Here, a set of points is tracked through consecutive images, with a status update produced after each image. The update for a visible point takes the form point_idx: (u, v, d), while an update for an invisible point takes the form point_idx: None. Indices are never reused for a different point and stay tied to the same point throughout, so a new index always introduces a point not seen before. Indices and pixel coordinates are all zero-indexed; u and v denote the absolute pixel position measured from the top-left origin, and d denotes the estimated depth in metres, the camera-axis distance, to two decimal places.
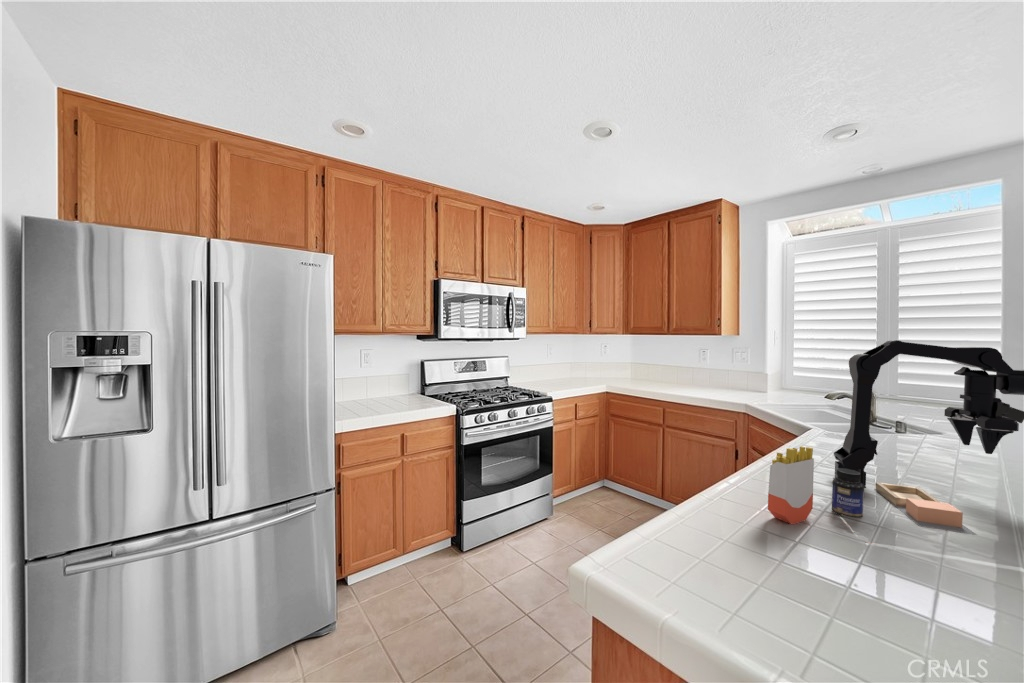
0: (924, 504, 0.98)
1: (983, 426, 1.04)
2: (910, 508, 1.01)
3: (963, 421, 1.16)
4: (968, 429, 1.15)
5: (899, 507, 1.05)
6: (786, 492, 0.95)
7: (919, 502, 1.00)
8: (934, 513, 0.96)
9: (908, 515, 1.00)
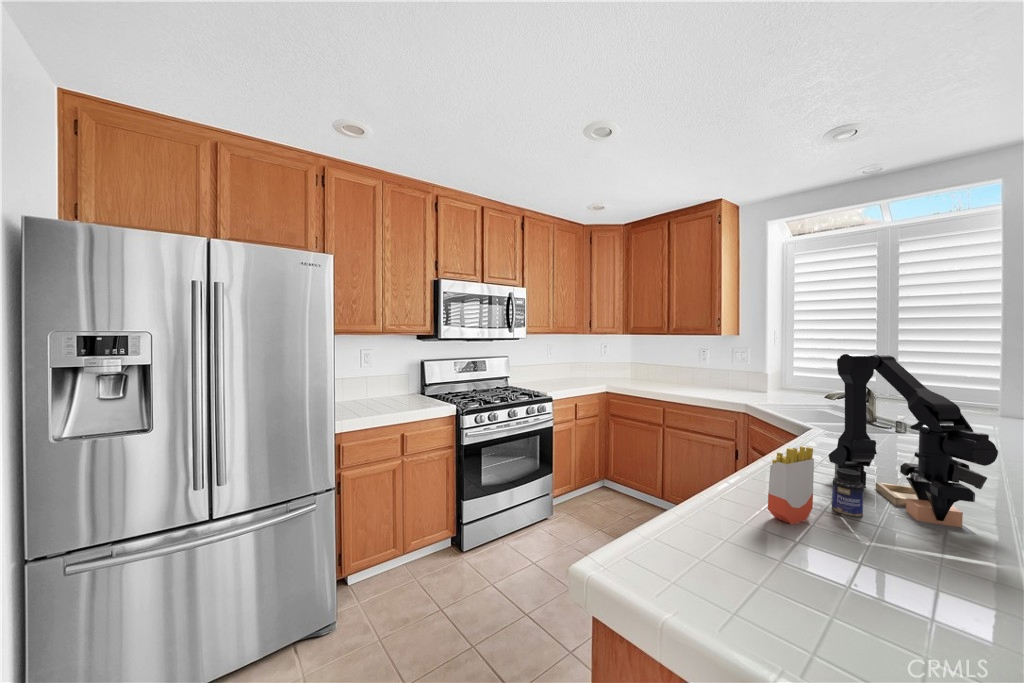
0: (924, 504, 0.98)
1: (936, 494, 0.92)
2: (910, 508, 1.01)
3: (923, 483, 1.02)
4: None
5: (899, 507, 1.05)
6: (786, 492, 0.95)
7: (919, 502, 1.00)
8: None
9: (908, 515, 1.00)
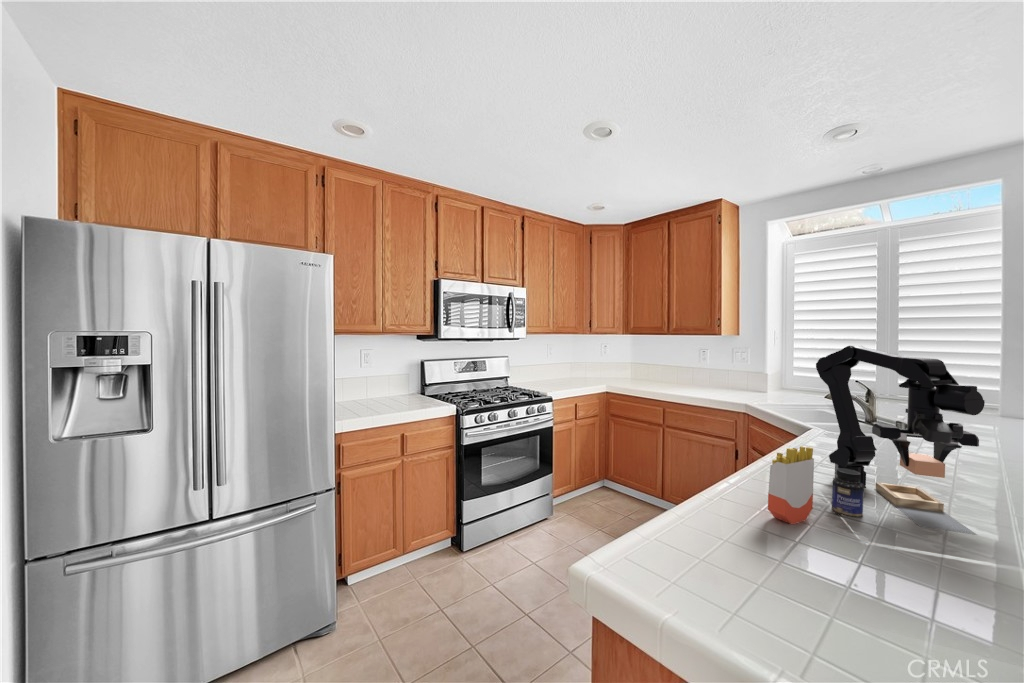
0: (913, 455, 1.06)
1: None
2: None
3: (938, 443, 1.03)
4: (939, 452, 1.02)
5: (899, 507, 1.05)
6: (786, 492, 0.95)
7: (919, 455, 1.06)
8: None
9: (908, 515, 1.00)
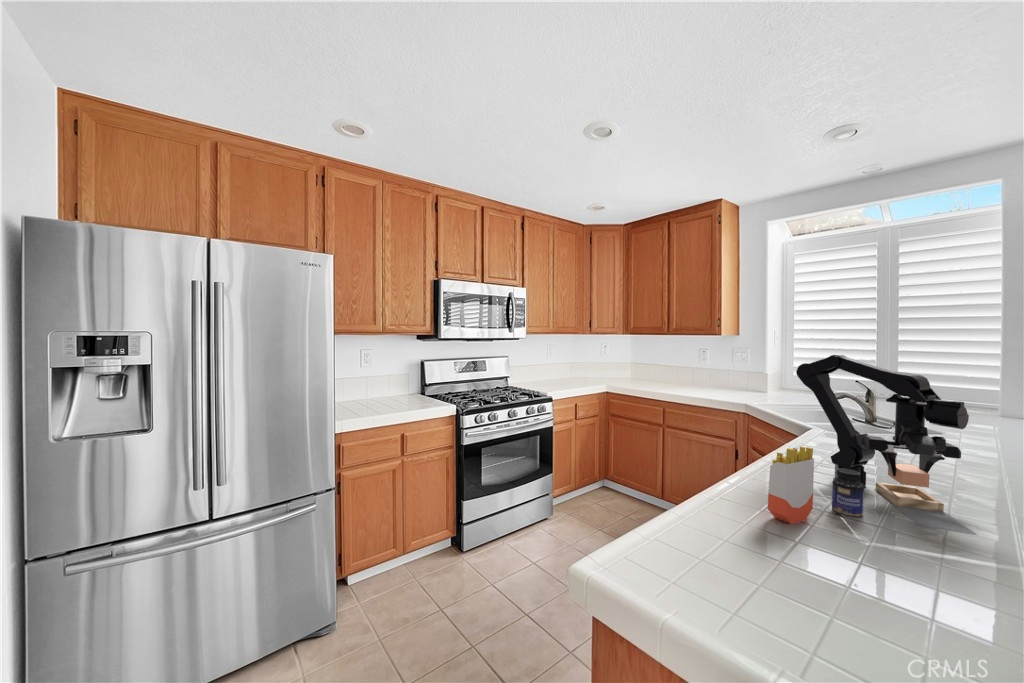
0: (900, 465, 1.12)
1: None
2: None
3: (923, 454, 1.09)
4: (924, 463, 1.08)
5: (899, 507, 1.05)
6: (786, 492, 0.95)
7: (906, 465, 1.12)
8: None
9: (908, 515, 1.00)
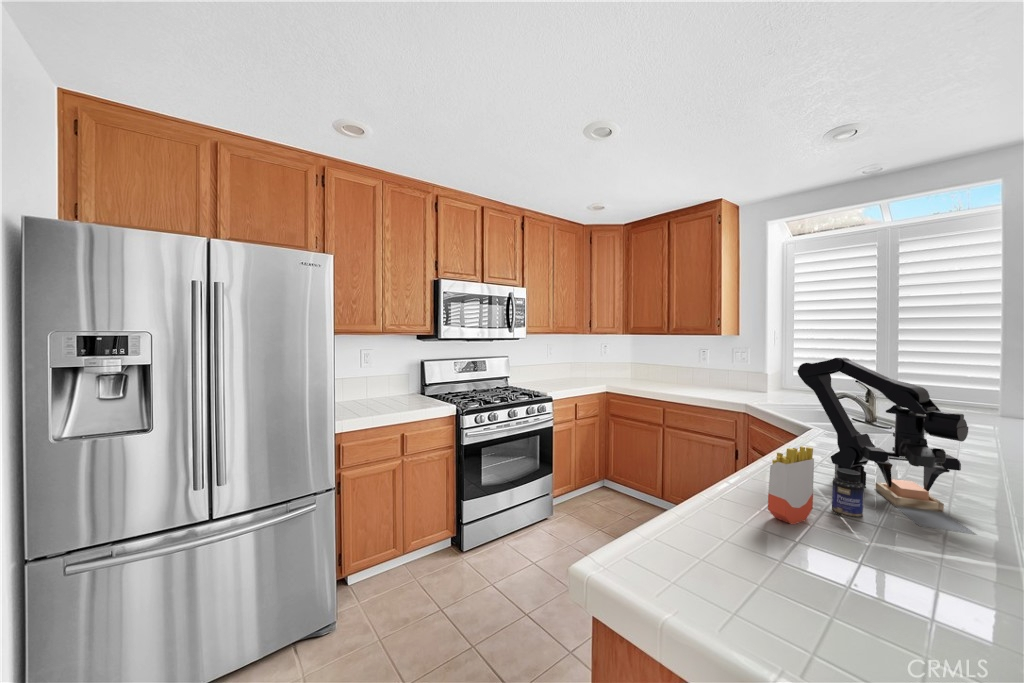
0: (900, 482, 1.12)
1: None
2: None
3: (928, 466, 1.09)
4: (928, 475, 1.08)
5: (899, 507, 1.05)
6: (786, 492, 0.95)
7: (905, 482, 1.12)
8: (892, 486, 1.12)
9: (908, 515, 1.00)
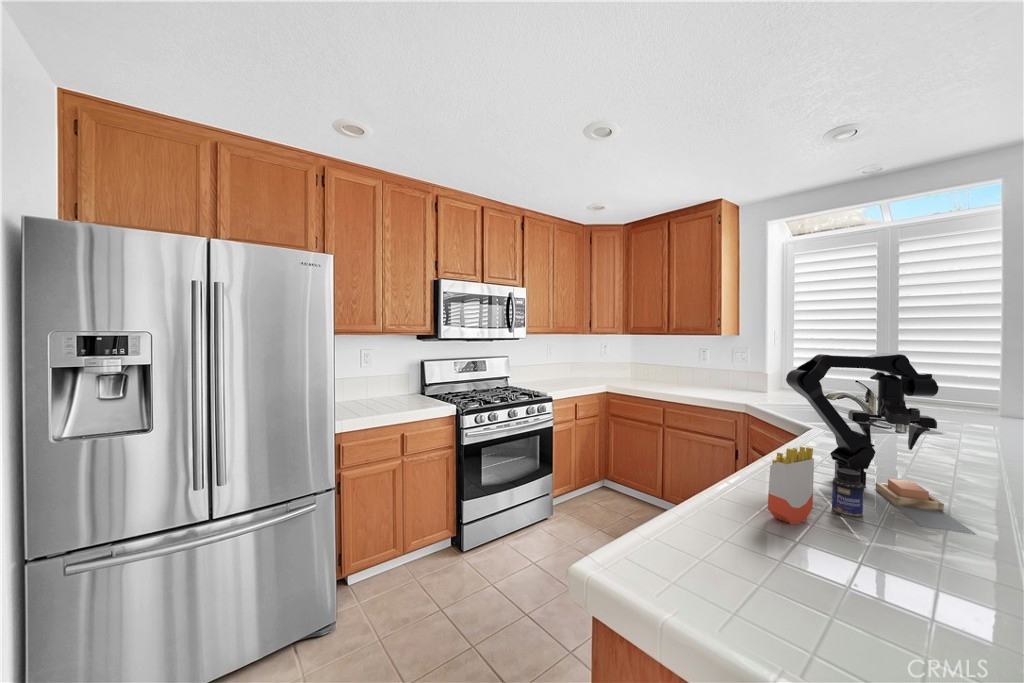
0: (900, 482, 1.12)
1: None
2: None
3: (912, 427, 1.19)
4: (912, 434, 1.18)
5: (899, 507, 1.05)
6: (786, 492, 0.95)
7: (905, 482, 1.12)
8: (892, 486, 1.12)
9: (908, 515, 1.00)
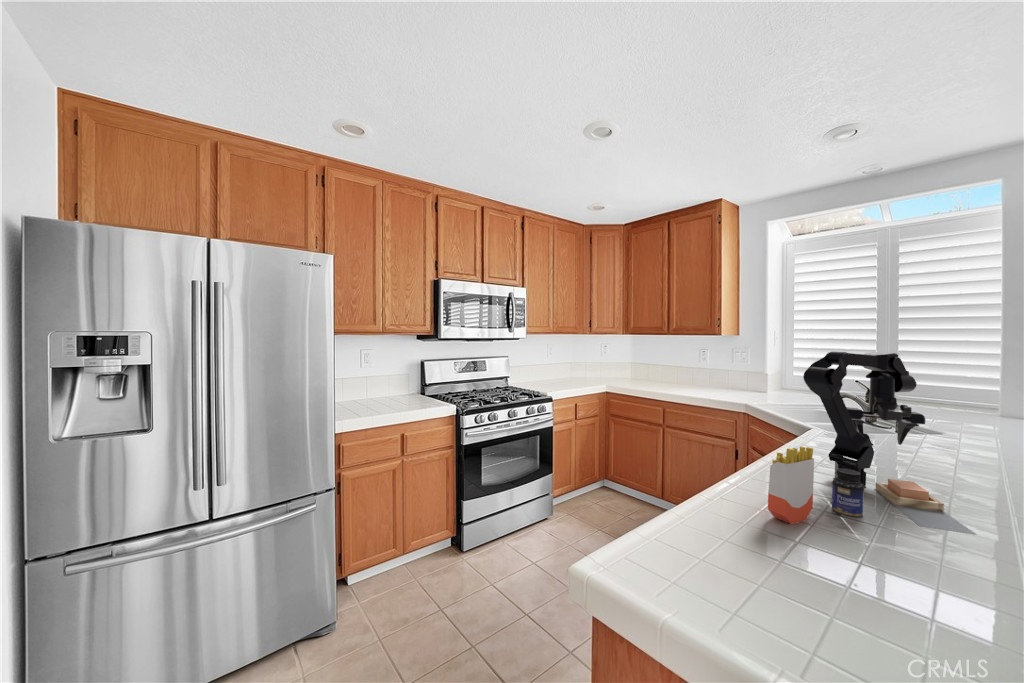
0: (900, 482, 1.12)
1: None
2: None
3: (901, 422, 1.24)
4: (901, 430, 1.23)
5: (899, 507, 1.05)
6: (786, 492, 0.95)
7: (905, 482, 1.12)
8: (892, 486, 1.12)
9: (908, 515, 1.00)
